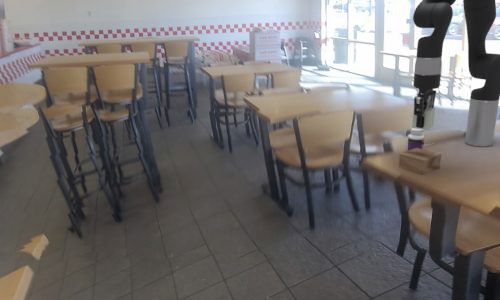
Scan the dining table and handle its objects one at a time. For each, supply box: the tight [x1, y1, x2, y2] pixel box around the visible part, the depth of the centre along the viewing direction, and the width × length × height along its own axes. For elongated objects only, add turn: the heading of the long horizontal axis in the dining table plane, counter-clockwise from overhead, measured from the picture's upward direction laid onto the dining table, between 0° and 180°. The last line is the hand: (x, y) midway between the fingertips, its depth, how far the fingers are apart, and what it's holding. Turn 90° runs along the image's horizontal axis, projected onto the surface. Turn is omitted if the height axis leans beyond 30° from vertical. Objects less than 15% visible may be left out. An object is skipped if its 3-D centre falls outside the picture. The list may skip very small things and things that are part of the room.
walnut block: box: [398, 148, 442, 176], centre depth 134 cm, size 9×9×5 cm
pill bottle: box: [406, 127, 425, 151], centre depth 144 cm, size 5×5×10 cm
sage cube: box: [411, 107, 436, 131], centre depth 129 cm, size 5×5×6 cm
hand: (422, 125), depth 130 cm, fingers closed on sage cube, 5 cm apart
